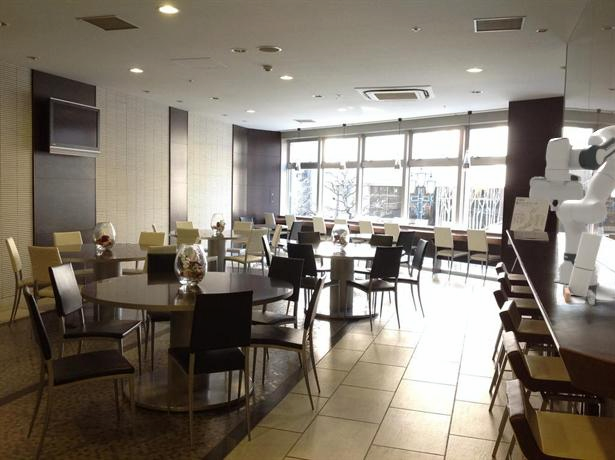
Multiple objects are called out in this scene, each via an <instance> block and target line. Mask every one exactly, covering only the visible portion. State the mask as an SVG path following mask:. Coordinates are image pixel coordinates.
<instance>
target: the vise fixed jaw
mask: <svg viewBox="0 0 615 460" xmlns="http://www.w3.org/2000/svg"><path fill="white" fill-rule="evenodd" d="M586 299H587V301H588V303H589V304H590V305H591V306H592V305H593V306H595V305H596V304H595V302H596V294H595V293H594V292H593V290H592V289H588V290H587V295H586Z"/></svg>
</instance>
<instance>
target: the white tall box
mask: <svg viewBox="0 0 615 460" xmlns="http://www.w3.org/2000/svg"><path fill="white" fill-rule="evenodd" d="M602 238H603V236H602V235H599V234H596V233H591V232H588V233H586V232H582V236H581V239H580V243H579V247H578V251H577V255H576V259H575V263H574V266H573V270H572V274H571V278H570V282H569V284H568V285H567V287H568V289H569V291H570V295H575V296H579V297H585V298H587V290H589V287H590V286H589V284H590V280H591V276H592V273H593V269H594V266H595V264H596V261H597V258H598V257H597V256H598V253H599V249H600V246H601V241H602Z"/></svg>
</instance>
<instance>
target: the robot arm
mask: <svg viewBox="0 0 615 460" xmlns="http://www.w3.org/2000/svg"><path fill="white" fill-rule="evenodd" d="M546 146H547V147H546V153H545V161H546V167H545V169H544V170H545V171H544V173H545V174H544V176H534V177H532V178H531V179H530V180H529V187H530V189H529V194H528V195H529V196H528V197H529V199H530V200H547V201H548V202H547V203H548V204H549V206H550V211H551V212H555V214H556V217H557V219H558V220H559V221H560V222H561V224H562V227H563V230H564V233H565V247H564V248H565V250H564V251H565V252H564V253H563V262H562V263H561V264H559V266H558V270H557V273H558V276H559V277H557V278H555V279H553V280H554V282H555V283H561V284H565V285H569V282H570V278H571V274H572V270H573V266H574V263H575V259H576V255H577V251H578V247H579V243H580V239H581V236H582V232H586V233H589V232H588V229H587V227H586V225H595V224H600V223H602V222H604V221H605V220H606V218H607V217H608V207H607V205H606V203H607V200H608V198H609V197H610V196H611V194H612V193H613V192H614V190H615V124H614V125H609V126H606V127H603V128H600V129H598V130H597V131H595V132H593V133H592V134H591V135H590V136H589V138H588V140H587V145H580V146H574V145H572V144H571V143H570V139H569V138H568V137H557V138H551V139H550V140H549V141H548V144H547V145H546ZM582 170H584V171H595V172H594V174H592V176H591V177H589V178H590V179H589V180H588V181H587V182H586V183H585V185H584V187H583V184H582V182H581V181H582V177H581V176H580V175H577V174H574V173H570V171H582ZM584 193H585V195H584ZM556 200H557V205H556V206H554V204H553V203H554V201H556ZM596 271H597V269H596V266H595V265H594V269H593V273H592V276H591V280H590V284H589V287H591V286H600V282H599V281H596Z"/></svg>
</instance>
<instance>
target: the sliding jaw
mask: <svg viewBox="0 0 615 460" xmlns="http://www.w3.org/2000/svg"><path fill="white" fill-rule="evenodd" d="M562 285H563V284H562ZM562 294H563V298H564V300H565V302H567V303H570V302H571V293H570V291H569V289H568V285H566V284H565V285H563V286H562Z"/></svg>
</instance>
